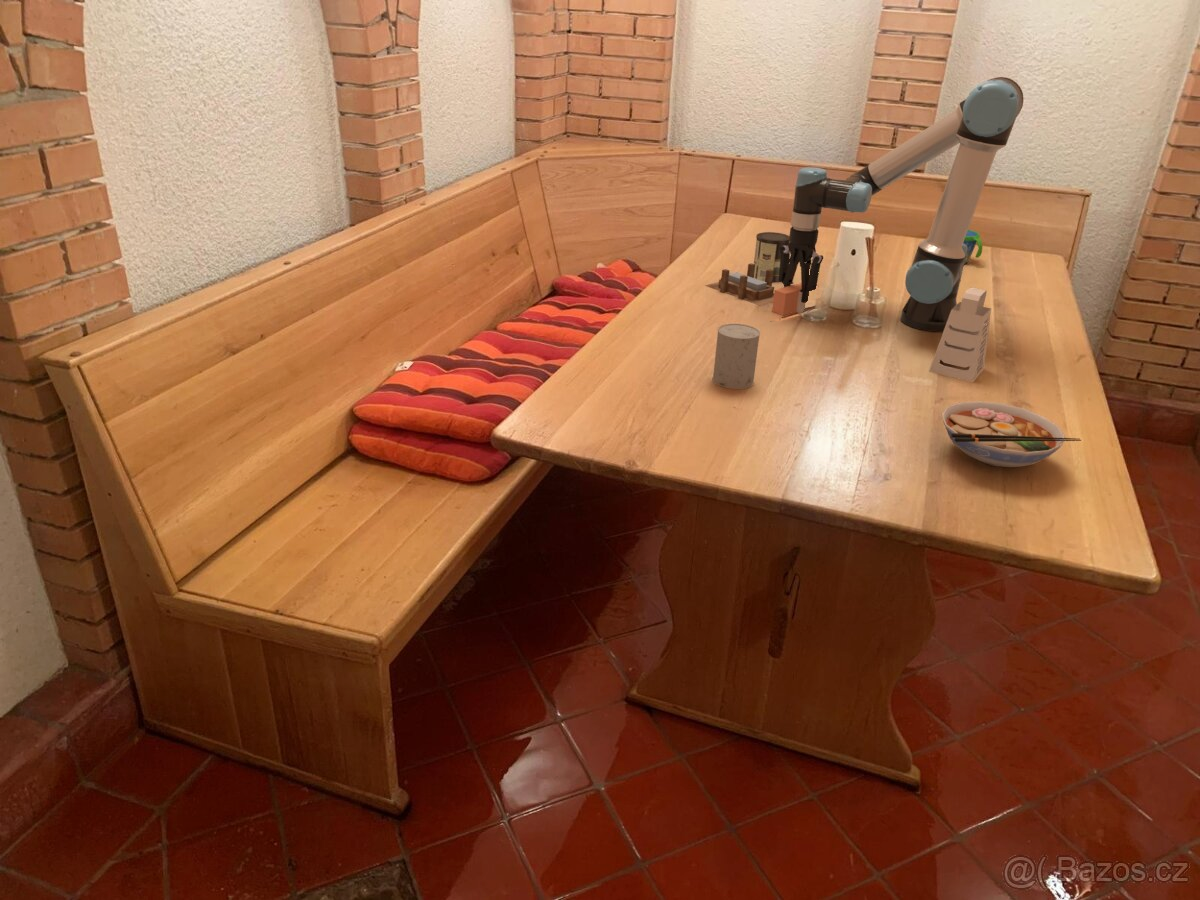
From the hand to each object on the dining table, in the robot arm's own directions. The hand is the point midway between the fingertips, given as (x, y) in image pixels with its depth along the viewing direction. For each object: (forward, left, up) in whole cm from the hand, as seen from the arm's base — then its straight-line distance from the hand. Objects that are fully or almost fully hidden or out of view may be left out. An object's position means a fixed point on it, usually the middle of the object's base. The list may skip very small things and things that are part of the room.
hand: (793, 310), depth 256 cm
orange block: (0, 0, 0) cm, 0 cm away
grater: (-51, -1, -1) cm, 51 cm away
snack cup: (+3, -90, -1) cm, 90 cm away
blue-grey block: (+18, 0, 0) cm, 18 cm away
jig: (+18, 0, -1) cm, 18 cm away
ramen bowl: (-81, +35, -1) cm, 88 cm away
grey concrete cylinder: (-24, +50, -1) cm, 55 cm away
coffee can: (+24, -17, -1) cm, 30 cm away
